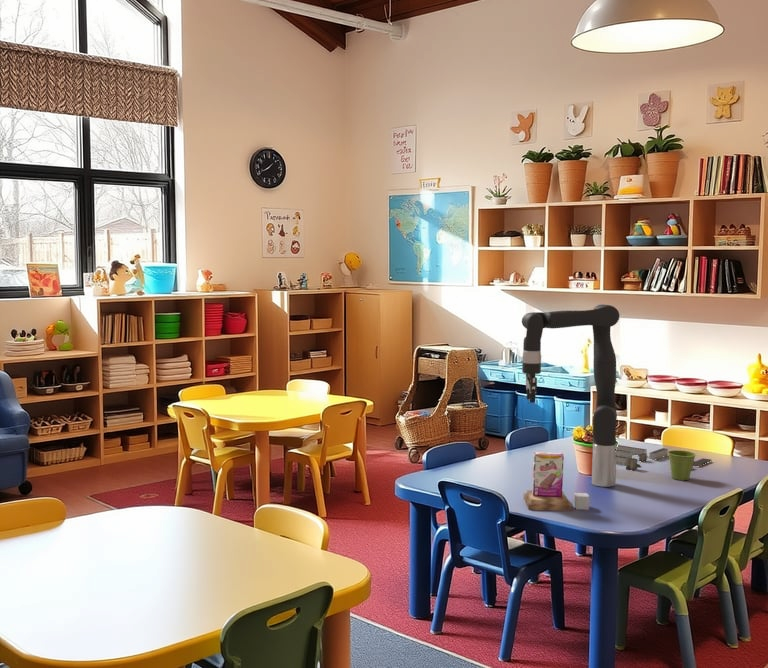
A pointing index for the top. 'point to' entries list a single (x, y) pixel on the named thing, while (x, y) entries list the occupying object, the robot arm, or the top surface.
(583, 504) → the grey cube
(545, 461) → the candy bar box
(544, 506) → the plinth
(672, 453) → the plant pot
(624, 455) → the building set
